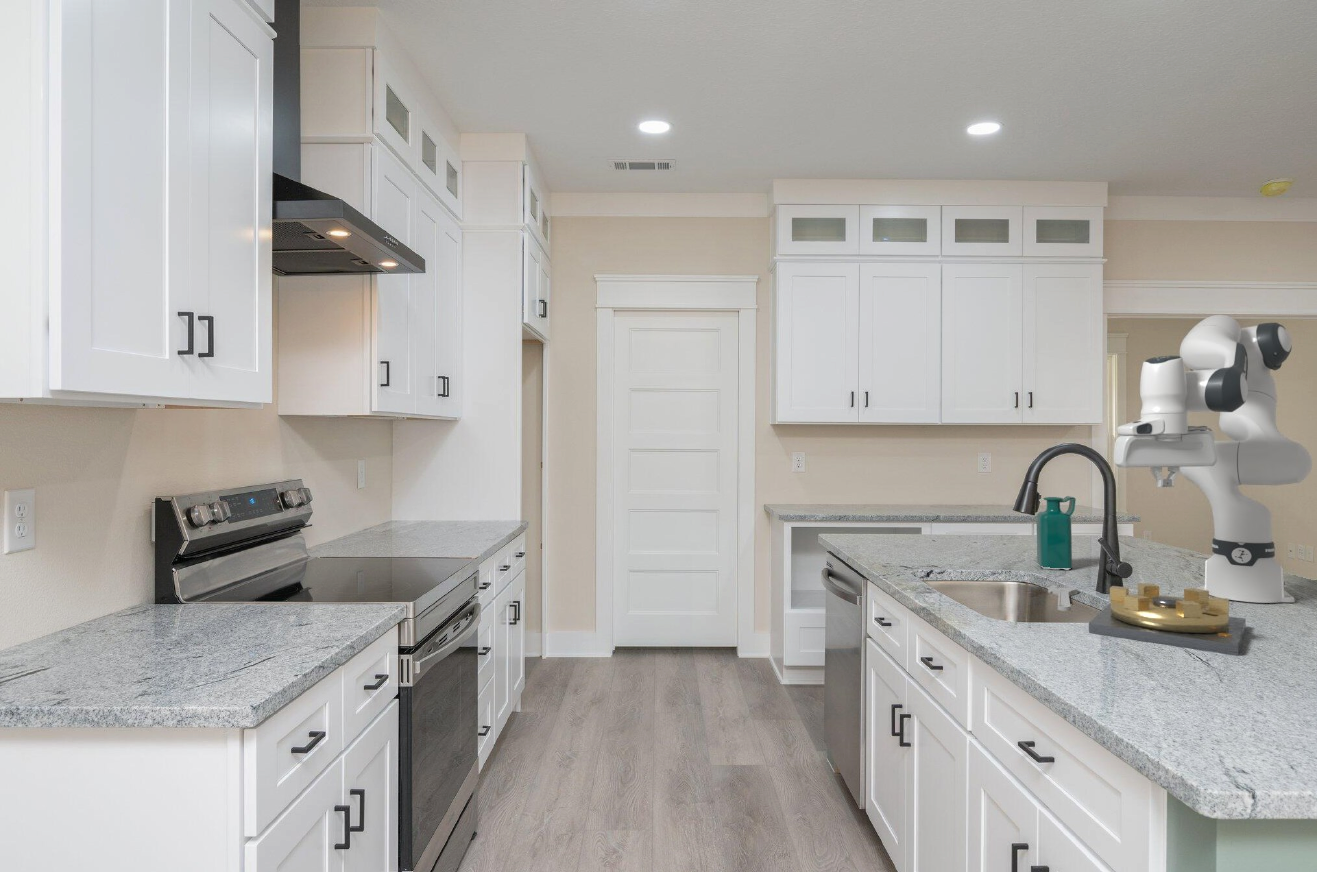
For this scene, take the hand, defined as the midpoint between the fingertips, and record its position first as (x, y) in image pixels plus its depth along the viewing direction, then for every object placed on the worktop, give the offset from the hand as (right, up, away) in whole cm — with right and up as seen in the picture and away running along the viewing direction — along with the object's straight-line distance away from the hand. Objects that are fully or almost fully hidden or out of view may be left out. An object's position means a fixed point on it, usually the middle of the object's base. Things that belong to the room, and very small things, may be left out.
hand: (1165, 486), depth 161 cm
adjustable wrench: (-15, -30, +15) cm, 37 cm away
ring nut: (-10, -27, -14) cm, 32 cm away
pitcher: (+7, -29, +55) cm, 63 cm away
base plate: (-10, -29, -14) cm, 34 cm away
